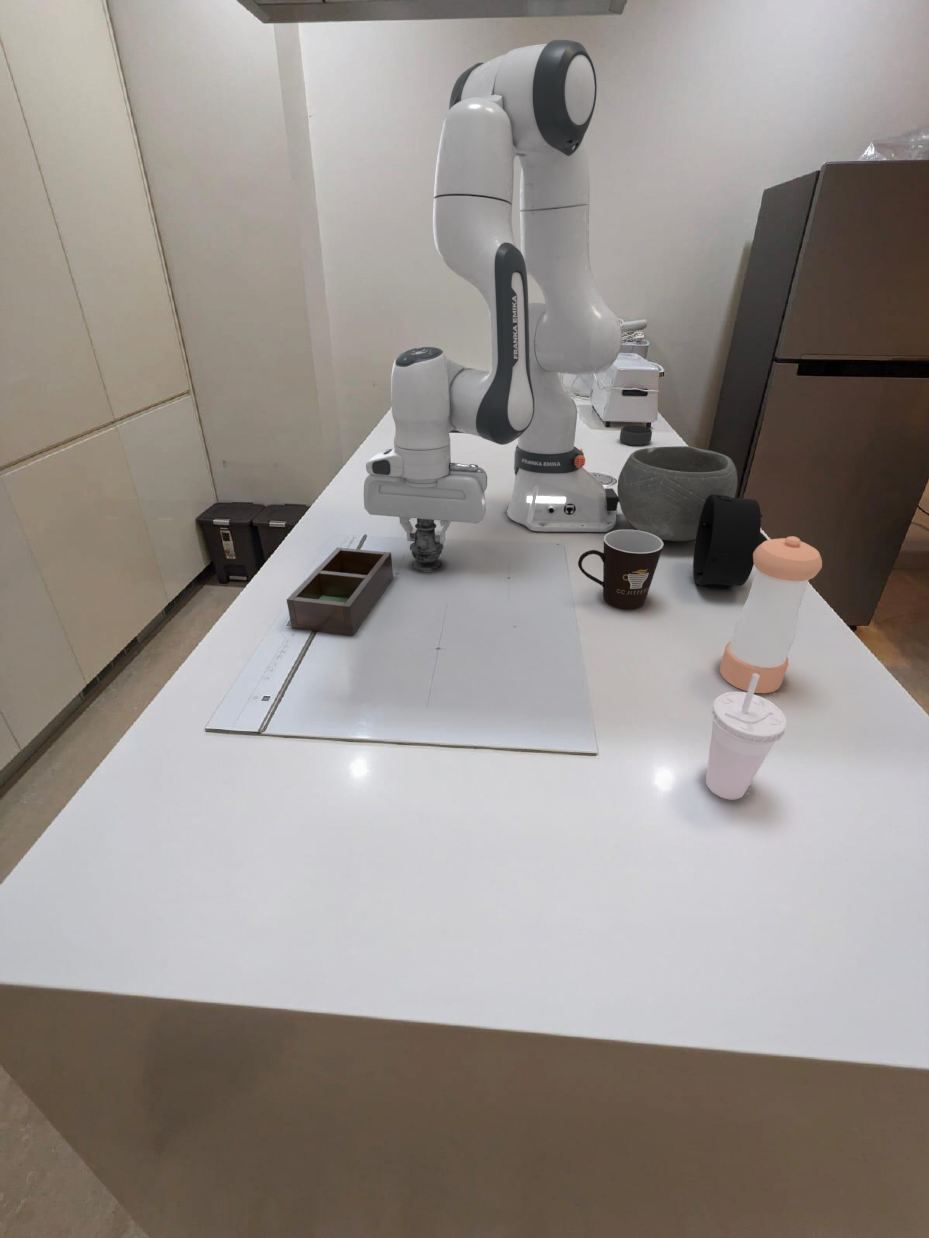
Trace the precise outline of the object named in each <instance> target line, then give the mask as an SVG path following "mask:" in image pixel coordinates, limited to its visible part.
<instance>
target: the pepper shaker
mask: <svg viewBox="0 0 929 1238" xmlns="http://www.w3.org/2000/svg"><path fill="white" fill-rule="evenodd" d="M753 562H754V565H753V566H754V567H755V568H756V570H755V574H754V577H753V579H752V583H751V587H750V590H749V593H748V596H747V598H746V601H745V603H744V605H743V607H742V608H741V610H740V613H739V614H738V615H737V616H738V617H737V618H736V621H735V623H734V627H733V630H732V635H731V639H730V641H729V642H728V643H727V644H726V645H725V647H724V652H723V655H722V658H721V663H720V666H719V673H720V674H721V678H722V679H724V680H725V681H726V682H727V683H728V684H730V685H731V686H733V687H735V688H737V689H740V690H742V691H743V692H747V691H748V688H749V685H750V681H751V678H752V675H753V674H754V673H756V674H759V679H758V682H757V685H756V688H755V691H754V694H769V693H773V692H775V691H777V690H780V687H781V686H782V683H783V680H784V677H785V675H786V672H787V670H788V666H789V657H788V656H789V653H790V651H791V648H792V645H793V643H794V640H795V637H796V631H797V625H798V624H797V623H798V617H799V611H800V607H801V604H802V601H803V598H804V595H805V592H806V590H807V587H808V584H809V580H811V579H814V578H815V577H816V576H817V575H818V574H819V573H820V571H821V570H822V568H823V560H822V556H821V554H820V552H819V550H818V549H817V548H815V547H813V546H812V545H810V544H808V543H806V542H804V541H801V539H800V538H799V537H797V536H794V535H793V536H792V535H790V536H787V537H786V538H785V537H781V538H780V537H779V538H771V539H767V541H764V542H763V543H762V544H761V545H759V546H758V547H757V548H756V550H755V551H754V553H753Z"/></svg>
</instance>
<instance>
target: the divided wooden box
mask: <svg viewBox="0 0 929 1238" xmlns="http://www.w3.org/2000/svg"><path fill="white" fill-rule="evenodd" d="M392 558H393V557H392V552H389V551H379V550H368V549H367V550H366V549H359V548H357V549H356V548H348V547H347V548H346V547H337V546H336V548H335V549H334V550H333V551H332V552H331V553H330V554H329V555H328V556H327V557H326V558H325V559H324V560H323V561H322V562H321V564H319V565H318V566H317V568H315V569H314V570H313V571H312V573H310V575H308V577H307V578H306V579H305V580H304V581H303V582H302V583H301V584H300V585H299V586H298V587H297V588H296V589H295V590H294V591H292V593H291V594H290V595H289V597H287V598H286V605H287V609H288V615H289V621H290V626H291V629H296V630H302V631H303V630H305V631H312V632H320V633H327V634H335V635H344V636H351V637H352V636H353V637H354V635H355V634H356V633H357V631H358V629H360V627H361V626H362V624H363V622H364V621H365V619H366V618H367V617H368V615H369V614H370V613H371V611H372V610H373V608H374V606H375V605H377V602H378V601H379V599H380V598H381V597H382V595H383V594H384V593H385V591H386V589H387V588H388V586H389V585H390V583H391V582H392V581H393V580H394V573H393V559H392Z"/></svg>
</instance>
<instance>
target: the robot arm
mask: <svg viewBox="0 0 929 1238" xmlns="http://www.w3.org/2000/svg"><path fill="white" fill-rule="evenodd" d="M597 87H598V85H597V74H596V69H595V65H594V63H593V61H592V58H591V56H590V55H589V53H588V51H587V49H586V47H584V45H583V44H582V43H580V42H577V41H575V40H570V39H553V40H551V41H549V42H548V43H541V44H532V45H527V46H521V47H517V48H514V49H511V50H509V52H506V53H503V54H502V55H501V54H500V55H498V56H496V57H494V58H492V59H490V60H488V61H486V62H478V63H475V64H474V65H471V66H470V67H468V68H467V69H466V70H464V71H463V72H462V73H461V74H460V75H459V76H458V77H457V79H456V81H455V82H454V84H453V86H452V90H451V94H450V98H449V104H448V105H449V106H448V111H447V113H446V114H445V117H444V119H443V123H442V127H441V132H440V136H439V137H440V138H439V144H438V150H437V157H436V164H435V173H434V174H435V176H434V186H433V187H434V188H433V205H432V206H433V207H432V232H433V239H434V245H435V249H436V251H437V253H438V255H439V257H440V258H441V260H442V261H443V262H444V264H446V266H447V267H448V268H449V269H450V270H451V271H452V272H454V273H455V274H456V275H458V276H459V277H460V278H462V279H464V280H465V281H467V282H469V284H471V285H472V286H473V287H475V288H476V290H478V292H479V293H480V294H481V296H482V297H483V298H484V301H485V303H486V305H487V310H488V314H489V315H488V316H489V336H490V338H489V339H490V340H489V341H490V363H491V364H490V365H491V366H490V371H488V370H482V369H475V368H471V367H465V365H462V364H459V363H456V362H455V361H453V360H452V359H450V358H449V357H447V356H446V355H445V352H444V351H443V349H441V348H438V347H434V346H422V347H414V348H411V349H407V350H405V351H403V352H401V353H400V354H398V355H397V356H396V357H395V359H394V361H393V365H392V370H391V377H390V402H391V416H392V419H393V421H394V427H395V434H394V438H393V447H390V448H388V449H387V448H386V449H383V450H381V451H378V452H377V453H375V454H374V455H373V456H371V458H369V459H368V460H367V462H366V463H365V470H366V472H367V474H368V475H367V476H366V477H365V479H364V482H363V506H364V510H365V511H366V512H367V513H368V515H369V516H370V515H371V516H381V517H382V516H384V517H392V518H393V517H394V518H399V524H400V525H401V527H402V529H403V530H404V531H405V532H406V540H407V542H412V543H413V542H416V541H417V529H416V528H414V527H413V525H412V523H411V521H410V520H411V519H416V520H417V519H429V520H434V521H440V525H439V526H440V527H442V528H441V530H435V535H434V538H435V544H443V545H444V544H445V542H446V532H447V530H448V529H449V527H450V526H451V524H452V522H455V523H468V524H480V523H481V521H482V520H483V519H484V518H485V516H486V511H487V503H486V494H485V492H486V490H487V487H488V474H487V473H486V471H485V469H484V468H482V467H479V465H478V464H474V463H470V464H464V463H457V462H452V460H451V459H452V457H451V456H452V454H451V453H452V451H451V436H450V433H451V432H452V431H456V432H457V431H458V432H459V433H463V434H467V435H470V436H476V437H479V438H482V439H483V440H487V441H489V442H492V443H494V444H496V445H501V446H505V445H508V444H510V443H512V442H515V440H517V444H516V446H515V450H514V458H513V461H514V462H513V470H514V481H513V482H514V483H513V489H512V492H511V493H512V494H511V497H510V501H509V505H508V508H507V510H506V515H507V517H508V519H510V520H512V521H514V522H516V523H517V524H520V525H523V526H525V527H526V528H527V529H529V530H531V531H532V532H545V533H546V532H547V533H549V532H557V533H559V532H562V533H563V532H564V533H566V532H567V533H605V532H606V533H608V532H610V531H611V530H612V529H613V528H614V527H615V526H616V523H617V513H616V512H617V511H618V503H619V498H618V493H617V492H616V491H615V490H614V488H605V487H604V485H603V483H602V482H601V481H600V480H598V479H597V478H595V476H594V475H592V474H591V473H590V472H589V471H588V470H587V469H585V467H584V466H585V464H586V457H585V454H584V452H583V449H582V448H580V449H579V448H578V447H576V446H575V442H576V441H575V440H576V431H577V430H576V429H577V420H578V407H577V403H576V402H575V400H574V398H572V397H571V396H570V395H569V394H568V393H567V392H566V391H565V389H564V388H563V386H562V384H561V381H560V378H559V373H560V374H565V375H566V374H567V375H573V376H585V375H586V376H587V375H596V374H601V373H605V372H606V371H607V370H609V369H610V367H612V365H613V364H614V363H615V361H616V360H617V358H618V356H619V354H620V352H621V349H622V344H623V330H622V326H621V322H620V320H619V318H618V317H617V315H616V314H615V313H614V312H613V311H612V310H611V309H610V308H609V307H608V306H607V304H606V303H605V301H604V299H603V298H602V297H601V294H600V292H599V290H598V288H597V285H596V282H595V280H594V276H593V272H592V268H591V261H590V195H591V194H590V193H591V191H590V190H591V188H590V186H591V185H590V163H589V154H588V143H587V135H586V133H587V131H588V128H589V126H590V124H591V121H592V118H593V116H594V115H593V114H594V111H595V107H596V102H597V101H596V100H597V92H598V88H597ZM516 157H518V159H519V162H520V165H521V167H520V177H519V178H520V179H519V180H520V181H519V235H520V237H519V240H520V241H519V242H520V249H519V248H518V247H517V245H516V241H515V238H514V231H513V222H512V221H513V220H512V213H513V199H514V178H515V177H514V176H515V173H514V168H515V165H514V163H515V158H516ZM528 276H529V277H530V278H531V279H533V281H535V283H537V285H538V287H539V288H540V289H539V290H540V291H541V292H542V295H543V298H544V301H545V302H544V303H543V302H529V285H528V282H529V281H528ZM763 517H764V515H763V514H762V513H761V518H763Z"/></svg>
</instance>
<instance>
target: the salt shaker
mask: <svg viewBox="0 0 929 1238" xmlns="http://www.w3.org/2000/svg"><path fill="white" fill-rule="evenodd" d="M436 528H437V524H436V523H435V520H429V519H417V518H416V524H415V525H414V529H417V541H416V542H413V541H412V542H411V544H409V547H408V548H409V550H410V551H411V554H412V557H413V558H414V559H415V560H413V562H412V565H411V567H412V568H413V570H415V571H417V572H421V573H431V572H436V571H438V570H440V569H442V567H443V562H442V561H441V560H440V559H439V558H440V557H441V555H442V552H443V550H444V548H445V547H444V544H435V538H434V535H435V533H436Z"/></svg>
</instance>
